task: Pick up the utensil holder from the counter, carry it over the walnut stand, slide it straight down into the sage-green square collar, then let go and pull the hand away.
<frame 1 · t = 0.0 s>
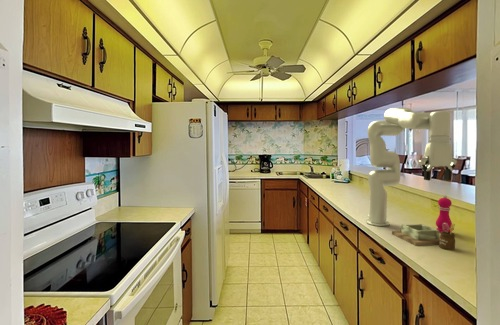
hand: (437, 179, 130), 31 cm above the worktop, tool pointing down, fingers open, 9 cm apart
pepper mill: (443, 232, 159), on the worktop
collar stand: (419, 238, 148), on the worktop
utensil holder: (447, 248, 135), on the worktop
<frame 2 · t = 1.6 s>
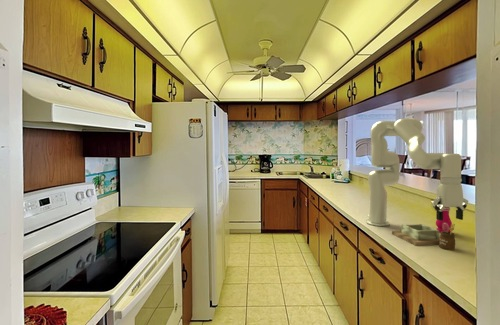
hand: (449, 219, 133), 13 cm above the worktop, tool pointing down, fingers open, 9 cm apart
nothing on the worktop moved.
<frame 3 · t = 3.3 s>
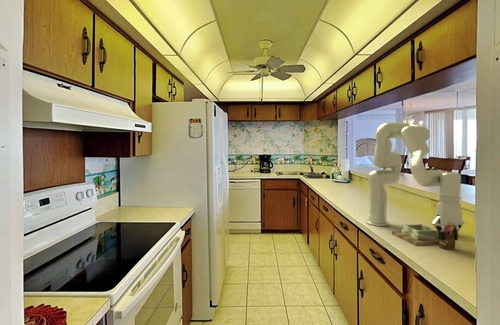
hand: (447, 239, 134), 4 cm above the worktop, tool pointing down, fingers closed on utensil holder, 5 cm apart
utensil holder: (447, 248, 135), on the worktop, touching gripper
everything else where it was.
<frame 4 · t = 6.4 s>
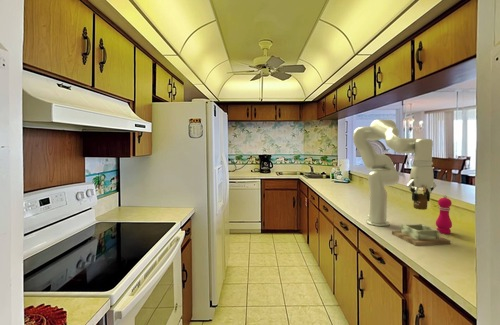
hand: (420, 200, 147), 19 cm above the worktop, tool pointing down, fingers closed on utensil holder, 5 cm apart
utensil holder: (420, 208, 147), point 15 cm above the worktop, touching gripper
everything else where it was.
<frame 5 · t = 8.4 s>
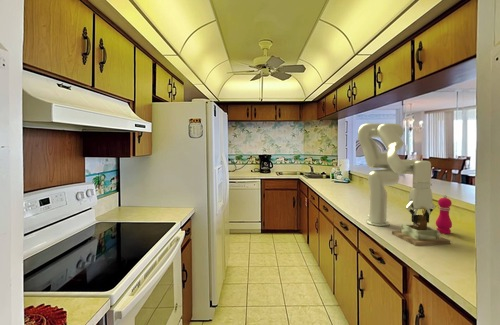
hand: (420, 221, 147), 8 cm above the worktop, tool pointing down, fingers closed on utensil holder, 5 cm apart
utensil holder: (420, 230, 148), point 4 cm above the worktop, touching gripper
everything else where it was.
when the fingers open (7 cm above the worktop, at t = 9.6 s): utensil holder drops 1 cm, resting on collar stand.
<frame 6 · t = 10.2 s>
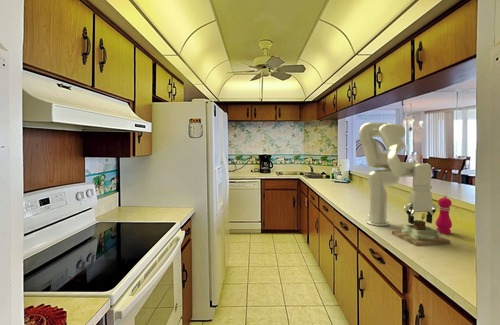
hand: (420, 223, 148), 8 cm above the worktop, tool pointing down, fingers open, 9 cm apart
utensil holder: (419, 235, 148), point 1 cm above the worktop, touching collar stand
everything else where it was.
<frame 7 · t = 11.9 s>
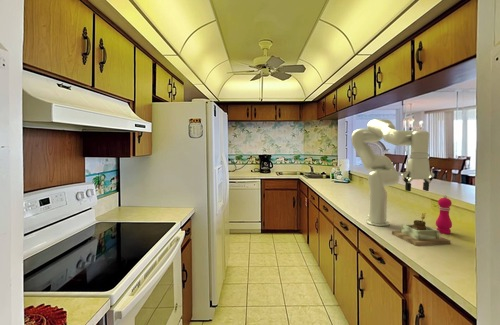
hand: (416, 190, 148), 24 cm above the worktop, tool pointing down, fingers open, 9 cm apart
nothing on the worktop moved.
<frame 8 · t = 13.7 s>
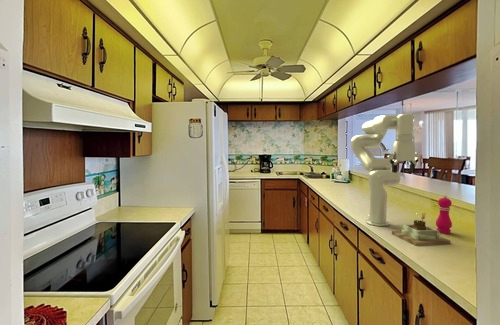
hand: (403, 172, 152), 32 cm above the worktop, tool pointing down, fingers open, 9 cm apart
nothing on the worktop moved.
at the end: utensil holder 0.2 cm off-centre on the collar stand, point 1.3 cm above the collar stand's base; utensil holder tilted 0°; the gripper is holding nothing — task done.
